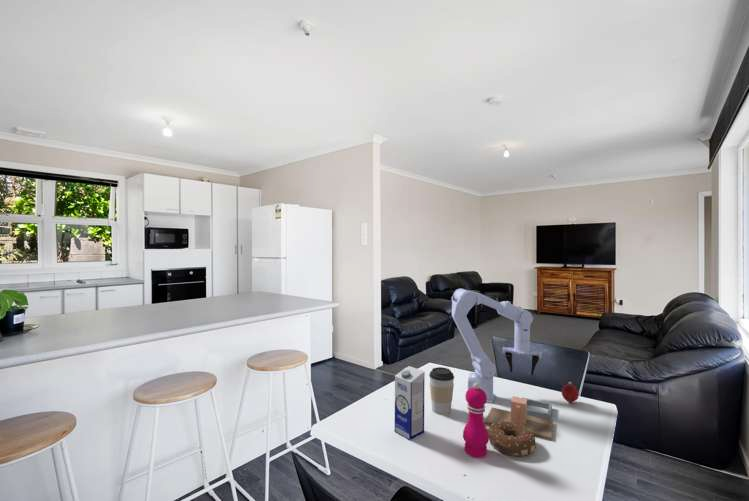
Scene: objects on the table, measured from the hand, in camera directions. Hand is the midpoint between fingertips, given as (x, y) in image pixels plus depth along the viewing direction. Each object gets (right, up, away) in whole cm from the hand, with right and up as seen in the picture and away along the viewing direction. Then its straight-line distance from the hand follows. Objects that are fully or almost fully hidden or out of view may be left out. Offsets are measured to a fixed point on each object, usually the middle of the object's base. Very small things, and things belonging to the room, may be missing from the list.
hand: (521, 372), depth 140 cm
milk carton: (-48, -10, -28) cm, 56 cm away
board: (-10, -10, -22) cm, 26 cm away
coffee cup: (-35, -10, -13) cm, 38 cm away
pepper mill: (-30, -10, -38) cm, 49 cm away
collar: (0, -10, -13) cm, 16 cm away
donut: (-18, -10, -35) cm, 41 cm away
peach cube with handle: (-10, -9, -22) cm, 26 cm away
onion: (+16, -10, -6) cm, 20 cm away
